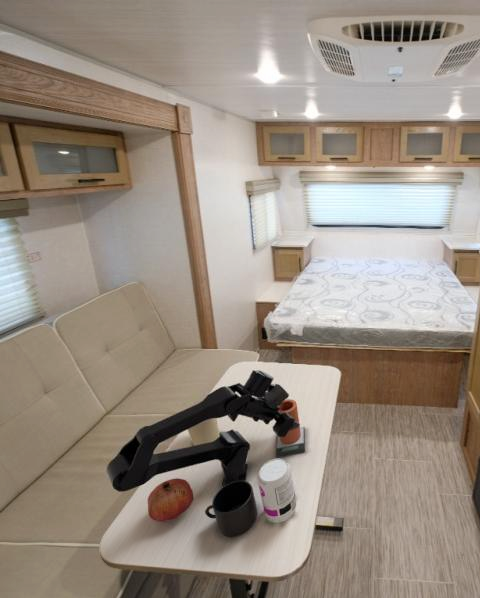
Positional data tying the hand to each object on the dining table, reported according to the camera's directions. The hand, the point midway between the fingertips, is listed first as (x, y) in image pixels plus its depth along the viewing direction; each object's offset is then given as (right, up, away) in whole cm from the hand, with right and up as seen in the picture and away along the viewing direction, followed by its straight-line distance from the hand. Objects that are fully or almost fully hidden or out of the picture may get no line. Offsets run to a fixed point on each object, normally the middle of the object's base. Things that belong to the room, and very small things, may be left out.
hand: (292, 418), depth 113 cm
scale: (-1, -9, +2) cm, 9 cm away
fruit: (-25, -18, -21) cm, 37 cm away
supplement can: (+3, -18, -20) cm, 27 cm away
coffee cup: (-30, -8, +3) cm, 32 cm away
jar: (-1, -7, +2) cm, 7 cm away
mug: (-8, -19, -23) cm, 31 cm away
